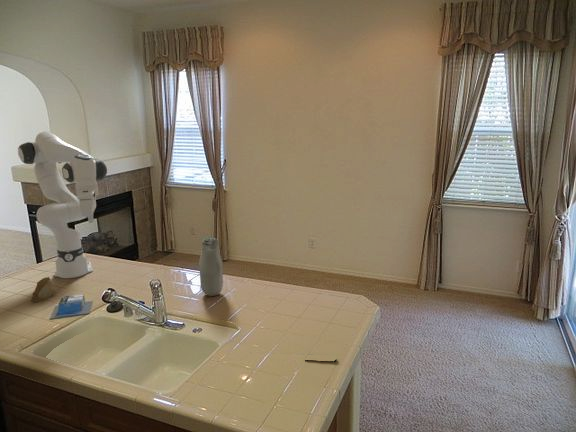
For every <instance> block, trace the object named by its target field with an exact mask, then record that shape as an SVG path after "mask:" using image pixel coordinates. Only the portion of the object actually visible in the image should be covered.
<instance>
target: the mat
mask: <svg viewBox="0 0 576 432" xmlns="http://www.w3.org/2000/svg"><path fill="white" fill-rule="evenodd" d="M93 302H94V301H93V300H91V301H85V303H84V305H83V308H82V310H81V313H80V314H75V315H68V316H60V317H58V315H59V308H58V305H55V306H54V308H53V310H52V312H51V315H50V317H49V320H55V319H63V318H70V317H76V316H78V317H79V316H82V315H90V313H91V309H92V306H93ZM67 314H71V313H67Z"/></svg>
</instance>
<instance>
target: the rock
mask: <svg viewBox="0 0 576 432" xmlns="http://www.w3.org/2000/svg"><path fill="white" fill-rule="evenodd" d="M51 296H54V290H53V287H52V280H51V278H50V276H47V277H43V278H41V279H40V280H39V281H37V282H36V286H35V289H34V291H33V293H32V295H31V300H30V302H31V303H36V302H37V303H38V302H40V301H42V300H45V299H47V298H49V297H51Z"/></svg>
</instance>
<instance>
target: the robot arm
mask: <svg viewBox="0 0 576 432" xmlns="http://www.w3.org/2000/svg"><path fill="white" fill-rule="evenodd" d="M17 155H18V158H19V159H20V160H21V162H22V163H23V164H25V165H34V167H33V169H34V174H35V178H36V181H37V182H38V183H37V184H38V185H39V189H40V190H41V192H42V194H43V196H44V197H45V198H46V199H48V200H52V201H54V202H55V203H54V202H53V203H49V204H48V203H47V204H46V205H43V206H40V207H39V208H38V209H37V212H36V220H37V221H38V223H39V224H40V225H42V226H43V227H46V228H48V229H49V230H50V231H51V232H52V233H53V235H54V237H55V241H56V242H55V243H56V247H57V249H56V254H57V258H56V260H55V261H54V262H55V272H53V277H58V278H61V279H72V278H73V279H74V278H78V277H82V276H85V275H86V274H89V273H92V272H94V269H93V267H92V263H91V261H88V259H87V257H86V255H85V253H84V248H83V245H82V240H81V235H80V232H79V231H78V230H76V229H73V228H70V227H69V226H68V223H73V222H77V221H81V220H85V219H86V218H87V221H88V223H89V224H91V223H93V222H94V213H95V210H96V208H97V201H96V199H97V196H99V187H98V182H99V181H103V180H104V178H105V177H106V176H107V174H108V169H107V166H106V163H104V161H102V160H101V159H100V158H95V157H93V156H92V155H90V154H89V153H87V152H86V151H84V150H82V149H81V148H79V147H77V146H74V145H71V144H69V143H67V142H65V141H64V140H62V139H61V138H60V137H59V136H57V135H56V134H54V133H52V132H50V131H41V132H39V133H38V134H37V135H36V136H35V139H34V141H31V142H29V141H28V142H24V143H22V144H20V145H19V146H18V147H17ZM57 163H58V164H62V163H64V164H63V165H62V168H61V172H62V175H61V173H60V172H59V169H58V167H57ZM64 180H65V181H67V182H68V183H70V184H75V193H76V195H75V194H74V193H72V192H71V191H70V190H69V188H68V187H67V185H66V183H65V182H64Z"/></svg>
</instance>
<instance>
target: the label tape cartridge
mask: <svg viewBox="0 0 576 432" xmlns="http://www.w3.org/2000/svg"><path fill="white" fill-rule="evenodd" d="M85 302H86V299H85V294H84V293H83V294H74V295H66V296H61V299H60V300H59V303H58V305H57V306H58V308H59V315H58V317H60V316H68V315H75V314H80V313H81V310H82V308H83V305H84V303H85ZM67 313H71V314H67Z"/></svg>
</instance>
